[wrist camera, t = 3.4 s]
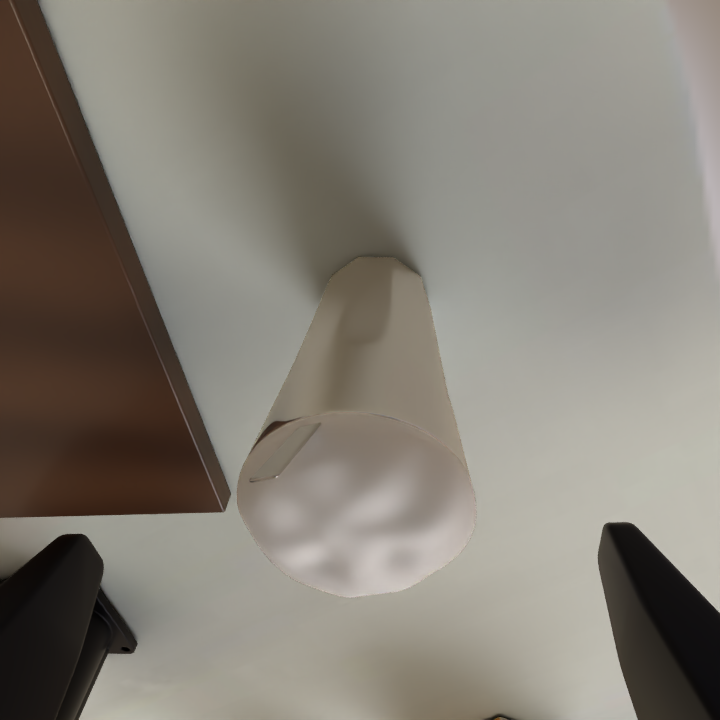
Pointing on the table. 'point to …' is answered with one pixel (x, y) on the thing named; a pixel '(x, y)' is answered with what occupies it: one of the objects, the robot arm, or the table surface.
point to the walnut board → (80, 320)
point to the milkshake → (362, 445)
